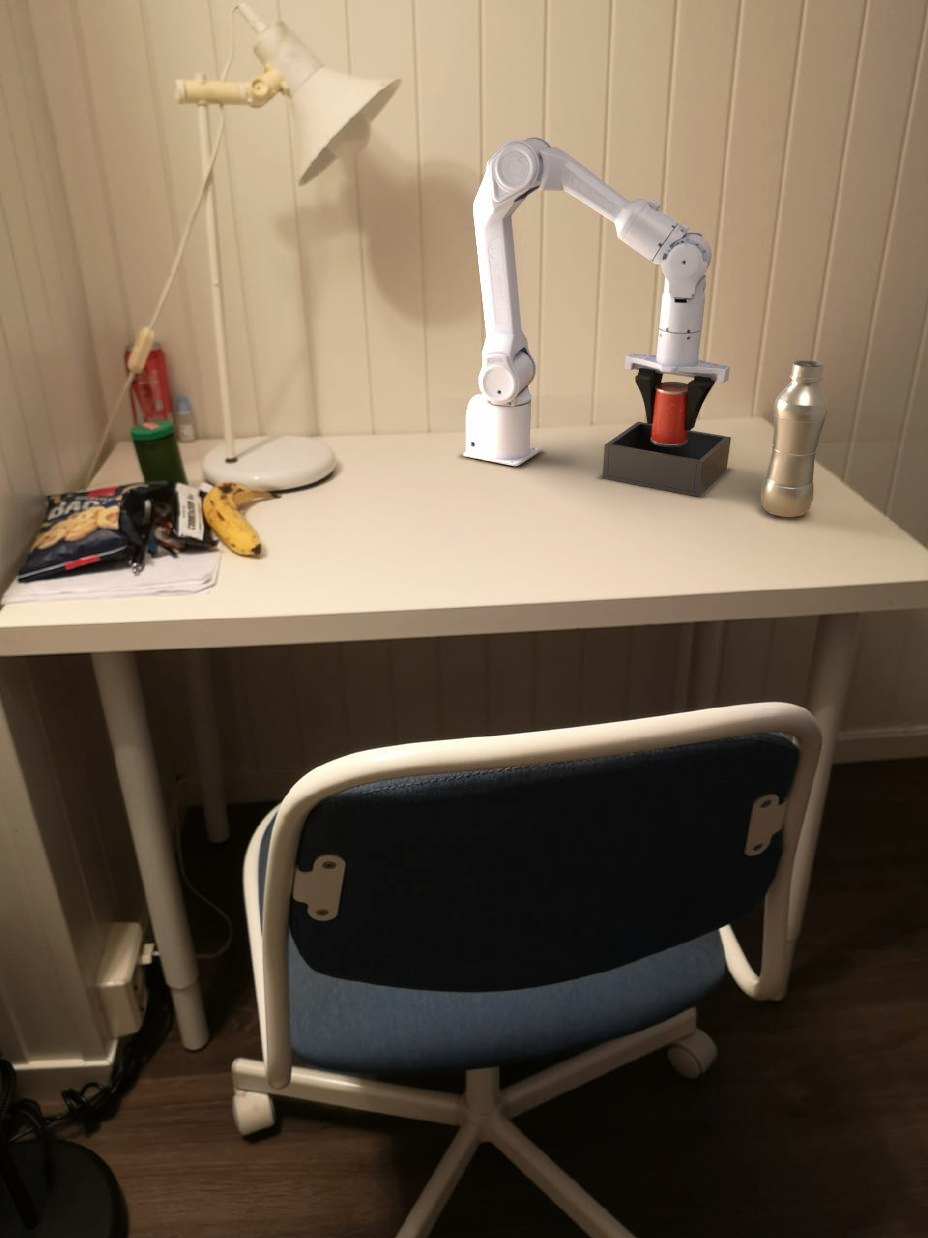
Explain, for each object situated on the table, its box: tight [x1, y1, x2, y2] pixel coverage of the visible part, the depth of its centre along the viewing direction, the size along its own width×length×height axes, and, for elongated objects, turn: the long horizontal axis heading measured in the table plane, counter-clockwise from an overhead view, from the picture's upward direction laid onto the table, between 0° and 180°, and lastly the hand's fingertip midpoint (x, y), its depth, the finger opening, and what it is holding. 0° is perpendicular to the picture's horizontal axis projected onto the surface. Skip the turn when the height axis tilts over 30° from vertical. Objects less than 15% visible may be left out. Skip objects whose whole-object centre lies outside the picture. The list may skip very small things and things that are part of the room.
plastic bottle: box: [760, 359, 829, 518], centre depth 126 cm, size 6×7×20 cm
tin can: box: [650, 381, 688, 447], centre depth 140 cm, size 5×5×8 cm
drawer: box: [601, 421, 732, 498], centre depth 143 cm, size 15×13×5 cm
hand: (670, 425), depth 140 cm, fingers closed on tin can, 5 cm apart
